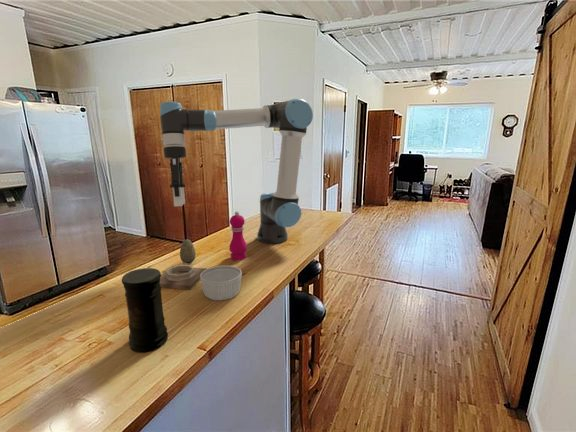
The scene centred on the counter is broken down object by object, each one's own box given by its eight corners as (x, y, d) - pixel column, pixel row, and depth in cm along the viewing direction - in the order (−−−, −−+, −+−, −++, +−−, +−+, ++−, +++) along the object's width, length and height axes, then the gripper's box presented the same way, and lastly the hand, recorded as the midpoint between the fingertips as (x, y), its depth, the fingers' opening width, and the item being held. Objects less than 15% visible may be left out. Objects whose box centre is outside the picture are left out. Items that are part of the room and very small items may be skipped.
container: (137, 331, 82) (129, 267, 78) (172, 329, 83) (166, 266, 79) (122, 354, 74) (112, 284, 69) (162, 352, 74) (154, 282, 70)
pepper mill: (243, 261, 128) (242, 214, 123) (227, 260, 129) (224, 213, 124) (249, 255, 135) (248, 209, 130) (233, 253, 136) (231, 209, 131)
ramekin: (198, 287, 106) (197, 268, 104) (236, 280, 111) (236, 262, 110) (204, 306, 94) (203, 285, 93) (247, 298, 100) (246, 277, 98)
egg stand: (207, 272, 118) (206, 263, 117) (190, 289, 104) (189, 280, 104) (172, 269, 120) (171, 261, 119) (151, 286, 107) (150, 277, 106)
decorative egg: (181, 267, 122) (179, 242, 120) (179, 261, 128) (177, 238, 125) (197, 264, 125) (195, 240, 122) (194, 259, 130) (193, 236, 128)
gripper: (167, 151, 125) (172, 204, 127) (158, 142, 101) (165, 207, 103) (187, 150, 127) (192, 202, 129) (182, 141, 103) (188, 206, 105)
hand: (180, 205), depth 116 cm, fingers open, 13 cm apart
